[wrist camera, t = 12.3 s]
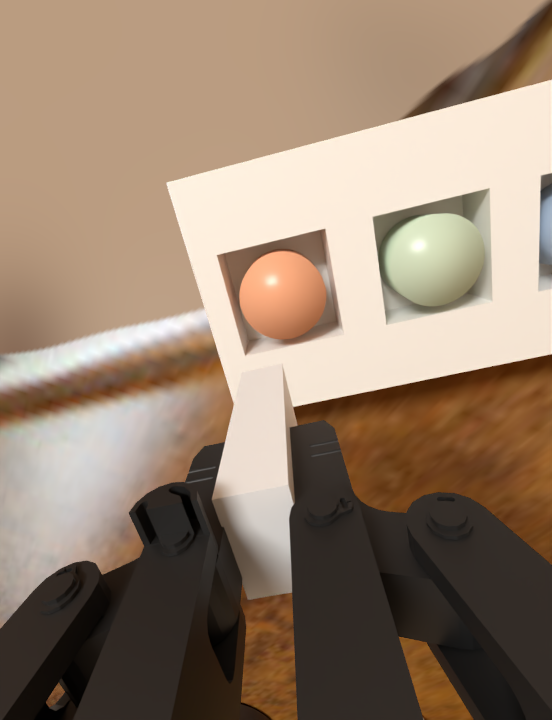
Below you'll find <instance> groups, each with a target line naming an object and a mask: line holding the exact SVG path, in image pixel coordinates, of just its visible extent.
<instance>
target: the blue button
mask: <svg viewBox="0 0 552 720" xmlns="http://www.w3.org/2000/svg"><path fill="white" fill-rule="evenodd" d="M539 263H542V264H547V265H552V184H550V185H548V186H547V187H545V188H544V189H543V190H541V191H540V235H539Z"/></svg>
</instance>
